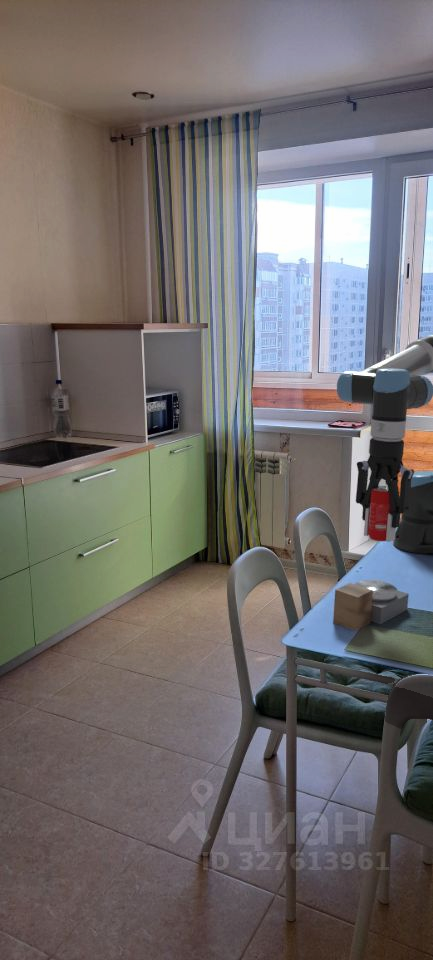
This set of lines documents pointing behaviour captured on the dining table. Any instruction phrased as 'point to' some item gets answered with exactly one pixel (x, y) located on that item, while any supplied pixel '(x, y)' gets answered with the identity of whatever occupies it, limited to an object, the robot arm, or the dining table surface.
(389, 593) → the scale pan
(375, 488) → the beverage can
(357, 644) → the dining table surface
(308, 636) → the dining table surface
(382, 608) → the scale base
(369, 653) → the dining table surface
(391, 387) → the robot arm
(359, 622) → the walnut block
